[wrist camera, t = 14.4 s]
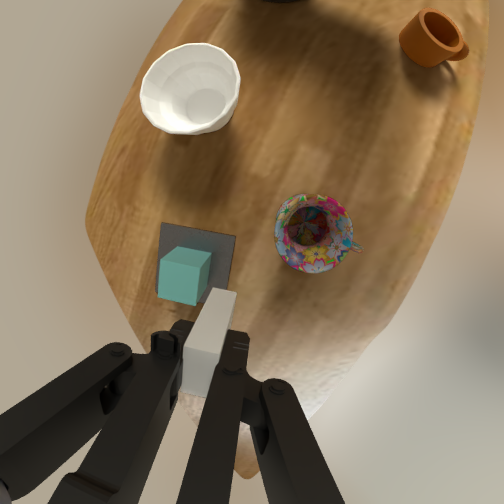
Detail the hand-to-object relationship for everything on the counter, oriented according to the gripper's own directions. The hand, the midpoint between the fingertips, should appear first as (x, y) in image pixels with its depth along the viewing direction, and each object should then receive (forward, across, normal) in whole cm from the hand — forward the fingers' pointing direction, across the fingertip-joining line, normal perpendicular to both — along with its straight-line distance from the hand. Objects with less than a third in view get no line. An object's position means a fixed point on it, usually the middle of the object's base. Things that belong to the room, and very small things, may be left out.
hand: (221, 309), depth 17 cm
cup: (+27, -10, +18) cm, 34 cm away
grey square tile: (+26, -8, -7) cm, 28 cm away
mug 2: (+27, +25, +40) cm, 54 cm away
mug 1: (+27, +9, +3) cm, 28 cm away
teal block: (+26, -8, -7) cm, 28 cm away
